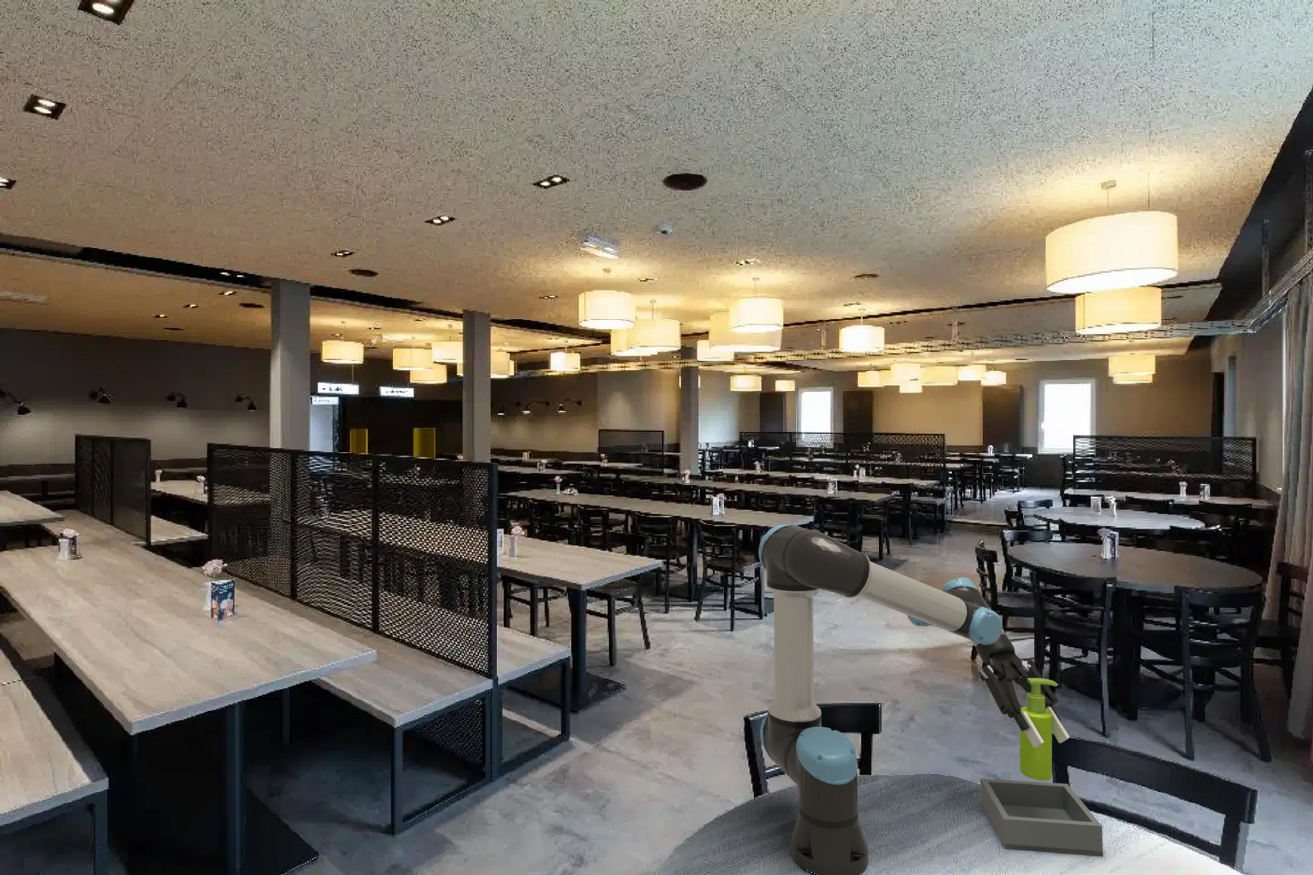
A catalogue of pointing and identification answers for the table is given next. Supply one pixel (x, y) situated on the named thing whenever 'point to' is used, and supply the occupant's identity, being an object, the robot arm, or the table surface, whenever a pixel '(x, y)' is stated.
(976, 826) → the table surface
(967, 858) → the table surface
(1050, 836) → the crate
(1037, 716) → the soap dispenser
